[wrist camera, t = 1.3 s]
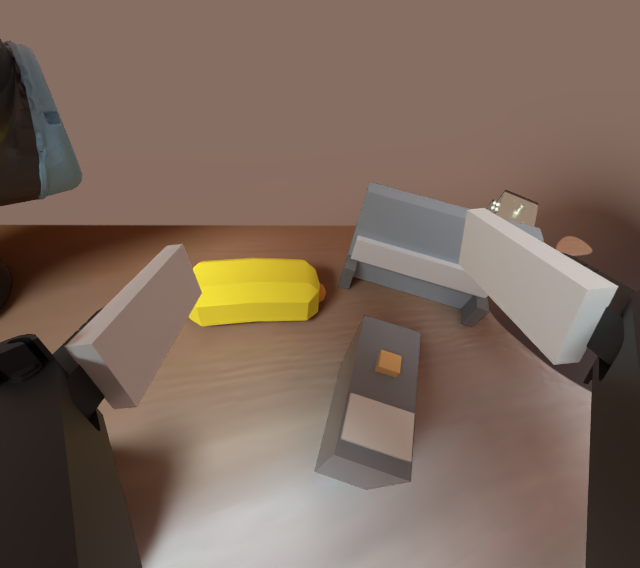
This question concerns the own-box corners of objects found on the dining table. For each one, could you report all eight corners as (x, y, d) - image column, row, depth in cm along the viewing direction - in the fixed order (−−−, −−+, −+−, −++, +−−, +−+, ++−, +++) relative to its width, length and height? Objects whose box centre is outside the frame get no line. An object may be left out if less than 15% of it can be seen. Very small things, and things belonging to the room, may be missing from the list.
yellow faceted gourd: (186, 282, 38) (177, 334, 34) (172, 245, 33) (159, 302, 28) (320, 278, 41) (328, 325, 37) (327, 245, 36) (337, 295, 32)
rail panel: (338, 286, 41) (362, 204, 30) (345, 263, 43) (369, 181, 32) (471, 326, 39) (549, 257, 28) (470, 301, 42) (540, 228, 31)
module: (314, 471, 27) (336, 452, 18) (340, 364, 34) (367, 308, 24) (366, 489, 27) (417, 480, 17) (382, 377, 33) (425, 326, 24)
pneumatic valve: (493, 251, 50) (545, 191, 40) (480, 296, 43) (538, 237, 34) (462, 237, 51) (505, 176, 42) (444, 278, 44) (491, 216, 35)
